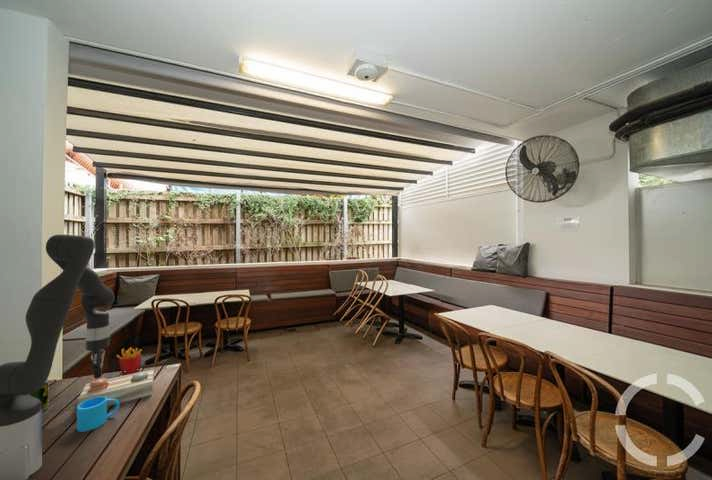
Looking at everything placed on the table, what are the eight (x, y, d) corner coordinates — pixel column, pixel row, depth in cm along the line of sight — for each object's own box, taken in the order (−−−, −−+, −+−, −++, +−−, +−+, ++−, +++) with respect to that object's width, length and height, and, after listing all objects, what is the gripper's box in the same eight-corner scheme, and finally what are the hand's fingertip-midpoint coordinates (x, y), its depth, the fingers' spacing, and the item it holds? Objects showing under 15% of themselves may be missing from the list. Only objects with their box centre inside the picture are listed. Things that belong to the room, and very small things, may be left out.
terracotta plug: (105, 398, 117) (105, 382, 117) (88, 402, 114) (88, 386, 114) (108, 392, 121) (108, 376, 121) (91, 396, 118) (91, 380, 118)
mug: (78, 435, 97) (78, 412, 97) (75, 425, 103) (75, 403, 103) (121, 418, 107) (121, 397, 107) (117, 409, 112) (117, 390, 112)
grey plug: (146, 390, 125) (146, 375, 125) (131, 394, 122) (131, 378, 122) (147, 385, 129) (147, 370, 129) (132, 389, 126) (132, 374, 126)
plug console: (152, 394, 123) (152, 381, 123) (78, 413, 109) (77, 399, 109) (153, 381, 134) (153, 369, 134) (86, 397, 121) (86, 383, 121)
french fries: (129, 372, 143) (129, 344, 143) (145, 372, 143) (145, 344, 143) (114, 381, 134) (114, 351, 134) (131, 381, 134) (131, 351, 134)
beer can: (26, 415, 108) (25, 385, 108) (32, 408, 113) (31, 379, 113) (45, 411, 111) (45, 381, 111) (50, 404, 116) (50, 376, 116)
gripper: (106, 339, 114) (106, 380, 114) (112, 331, 125) (112, 368, 125) (81, 343, 110) (81, 386, 110) (89, 334, 121) (89, 373, 121)
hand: (97, 377), depth 118 cm, fingers closed
